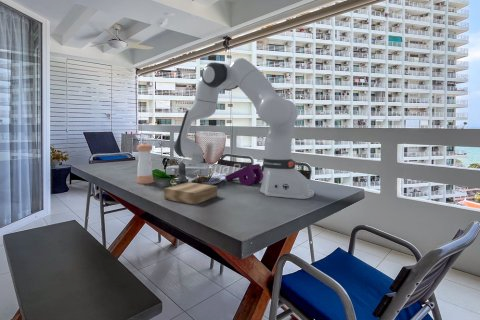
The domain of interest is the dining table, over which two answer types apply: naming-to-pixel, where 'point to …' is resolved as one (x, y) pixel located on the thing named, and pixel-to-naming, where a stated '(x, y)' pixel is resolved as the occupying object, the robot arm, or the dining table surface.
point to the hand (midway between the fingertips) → (183, 173)
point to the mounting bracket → (249, 172)
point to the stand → (190, 192)
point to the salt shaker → (144, 164)
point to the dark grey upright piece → (182, 175)
